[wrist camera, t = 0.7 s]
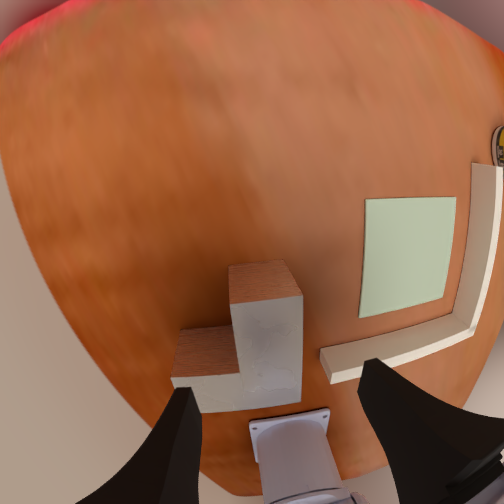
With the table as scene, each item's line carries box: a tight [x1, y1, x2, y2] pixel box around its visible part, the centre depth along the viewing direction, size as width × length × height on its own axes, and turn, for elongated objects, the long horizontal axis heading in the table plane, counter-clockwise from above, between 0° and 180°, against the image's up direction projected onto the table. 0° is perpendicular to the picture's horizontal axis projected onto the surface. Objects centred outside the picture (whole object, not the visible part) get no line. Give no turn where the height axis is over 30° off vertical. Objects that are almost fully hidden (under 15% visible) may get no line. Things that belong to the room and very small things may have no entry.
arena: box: [320, 162, 503, 384], centre depth 17 cm, size 16×16×3 cm
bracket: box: [170, 259, 303, 413], centre depth 16 cm, size 8×8×5 cm
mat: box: [358, 197, 456, 318], centre depth 18 cm, size 9×9×1 cm
